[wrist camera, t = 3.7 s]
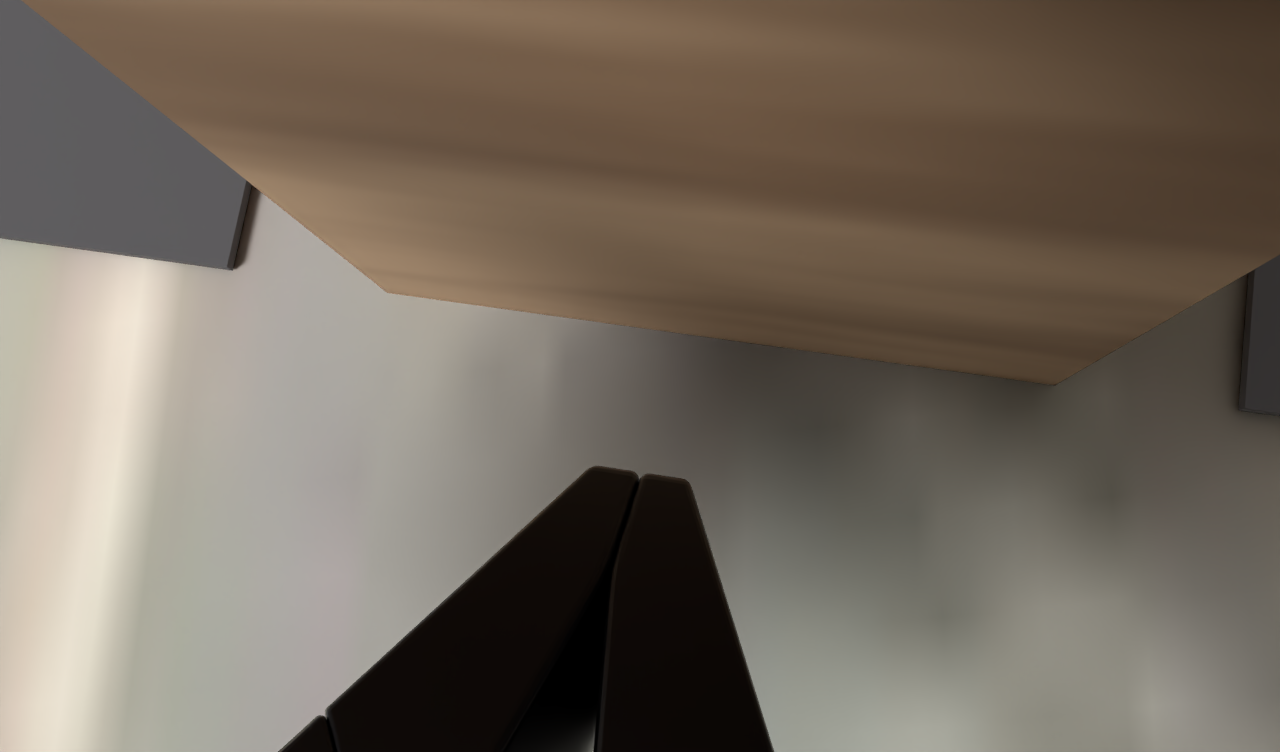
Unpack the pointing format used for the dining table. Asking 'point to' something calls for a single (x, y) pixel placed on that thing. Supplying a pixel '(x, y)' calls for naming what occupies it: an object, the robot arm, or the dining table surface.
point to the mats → (234, 180)
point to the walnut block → (751, 157)
